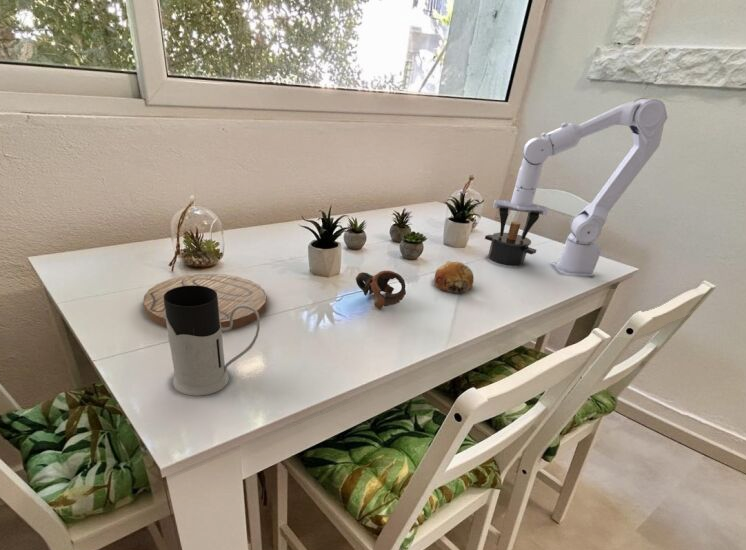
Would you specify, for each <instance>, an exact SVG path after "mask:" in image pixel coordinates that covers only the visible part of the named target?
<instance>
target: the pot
mask: <svg viewBox="0 0 746 550" xmlns="http://www.w3.org/2000/svg"><path fill="white" fill-rule="evenodd" d="M492 235H493V234H486V235H485V236H484V240H487V241H490V242H491V243H490V246H489V250H488V254H487V258H488V259H489V261H491V262H493V263H496V264H499V265H504V266H508V267H509V266H510V267H519V266H522V265H524V263H525V260H526V256H527V254H529V255H534V254H536V253H537V249H536V248H533V247H529V246H530V245H528V246H511V245H506V244H502V243H499V242H497V241H495V240H494V239H492Z"/></svg>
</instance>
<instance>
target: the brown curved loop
mask: <svg viewBox="0 0 746 550" xmlns="http://www.w3.org/2000/svg"><path fill="white" fill-rule="evenodd" d="M394 279H396V280H397V281H398V283H399V284H400V285H401V288H400V290H399V291H398V292H395V293H393V292H394V290H395V288H394V287H393V286H392V285H390V284H388V283H389V281H390V280H394ZM355 282H356V285H357V286H358V287H359V289H360V290H361V291H362V293H363V296H367V295H368V294H369V295H370V296H371V295H372V294H373V295H374V296H375V298H376V301H375V302H374V307H375V308H377V309H378V310H381V309H382V308H383V307H391V306H393V305H397V304H399V303H400V301H402V300H403V299H404V298H405V296H406V295H407V290H406V286H407V285H406V282H405V279H404V278H403V276H401V275H400V274H399V273H397V272H395V271H392V270H381V271H379V272H378V273H376V274H374V275H372V274H370V273H368V272H359V273H358V274H357V276H356V277H355ZM381 292H383V293H385V294H384V295H383V294H382V293H381Z"/></svg>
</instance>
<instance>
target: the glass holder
mask: <svg viewBox="0 0 746 550" xmlns="http://www.w3.org/2000/svg"><path fill="white" fill-rule="evenodd" d="M164 303H165V318H166V324H167V327H166V329H167V330H166V331H167V336H168V342H169V348H170V355H171V360H172V366H173V372H174V377H173V381H172V385H173V387H174V389H175V390H176V391H177V392H179V393H181V394H184V395H187V396H193V397H195V396H200V397H201V396H207V395H211V394H215V393H217V392H219V391H221V390H222V389H224V388H225V387H226V386H227V385H228V383H229V378H230V377H229V374H228V367H229V366H230V365H232V364H233V363H234V362H236V361H237V360H238V359H240V358H241V357H243V356H244V355H245V354H247V353H248V352H249V351H250V350H251V349H252V348H253V347H254V344H255V343H256V341H257V339H258V336H259V332H260V328H261V319H260V317H259V314H258V312H257V310H256V309H255V308H253V307H252V306H249V305H244V304H242V305H238V306H236V307H235V308H234V309H233V310H232V312H231V315H230V326H229V327H226V328H222V327H221V323H220V319H219V308H218V297H217V293H216V291H214V290H213V289H211V288H208V287H204V286H196V285H190V286H181V287H177V288H173V289H171V290H169V291H167V292H166V293H165V294H164ZM239 308H248V309H251V310H252V311H254V312H255V314H256V316H257V319H256V320H257V324H256V331H255V335H254V337H253V339H252V340H251V342H250V344H249V345H248V346H247V347H246V348H245V349H244V350H243V351H241V352H240V353H239V354H237V355H236V356H234V357H233V358H231V359H230V360H228V361H227V362H225V352H224V341H223V332H228V331H230V330H232V329H231V328H232V325H233V314H234V312H235V311H236V310H238V309H239Z"/></svg>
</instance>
